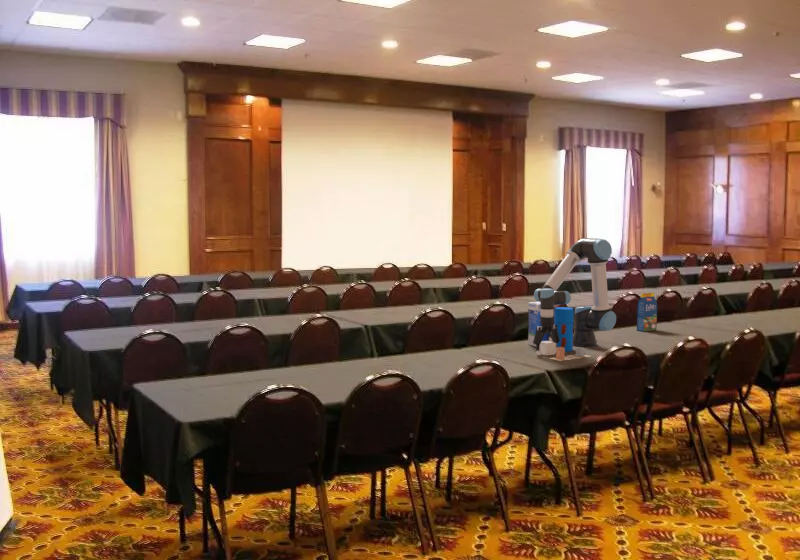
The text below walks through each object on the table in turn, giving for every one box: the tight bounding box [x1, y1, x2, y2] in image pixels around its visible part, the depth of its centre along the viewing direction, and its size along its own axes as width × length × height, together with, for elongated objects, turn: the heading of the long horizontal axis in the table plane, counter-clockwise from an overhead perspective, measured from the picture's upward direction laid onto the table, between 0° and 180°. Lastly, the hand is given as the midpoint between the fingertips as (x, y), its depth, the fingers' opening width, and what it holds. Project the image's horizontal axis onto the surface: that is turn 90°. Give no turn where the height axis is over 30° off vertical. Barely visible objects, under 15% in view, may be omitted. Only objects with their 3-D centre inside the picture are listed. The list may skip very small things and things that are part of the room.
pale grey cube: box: [575, 347, 585, 357], centre depth 474 cm, size 3×3×4 cm
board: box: [548, 353, 591, 362], centre depth 471 cm, size 24×9×1 cm, turn 124°
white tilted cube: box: [540, 340, 556, 356], centre depth 480 cm, size 6×6×8 cm
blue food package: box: [636, 292, 658, 332], centre depth 569 cm, size 6×12×25 cm, turn 120°
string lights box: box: [527, 301, 550, 348], centre depth 511 cm, size 13×8×26 cm, turn 20°
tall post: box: [555, 347, 566, 359], centre depth 467 cm, size 3×3×6 cm
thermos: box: [553, 306, 575, 353], centre depth 492 cm, size 11×11×25 cm
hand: (546, 355), depth 481 cm, fingers open, 11 cm apart
